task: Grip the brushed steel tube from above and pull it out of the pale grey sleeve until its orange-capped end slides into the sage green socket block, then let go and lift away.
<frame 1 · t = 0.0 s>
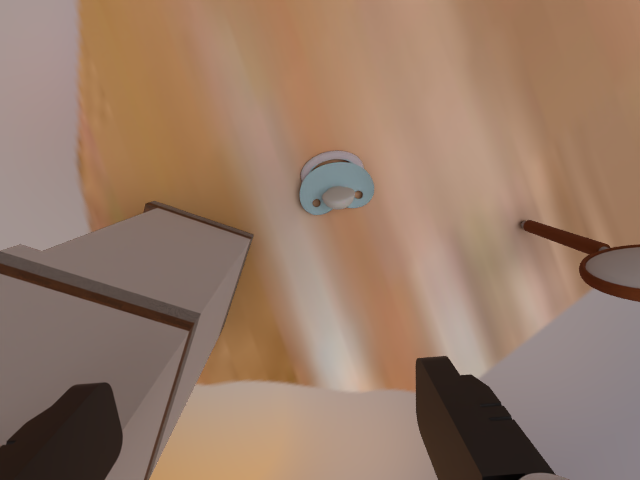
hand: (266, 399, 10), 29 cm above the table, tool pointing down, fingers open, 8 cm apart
grey notched tower: (190, 266, 39), on the table
pacifier: (333, 180, 38), on the table
magnifying glass: (522, 223, 39), on the table
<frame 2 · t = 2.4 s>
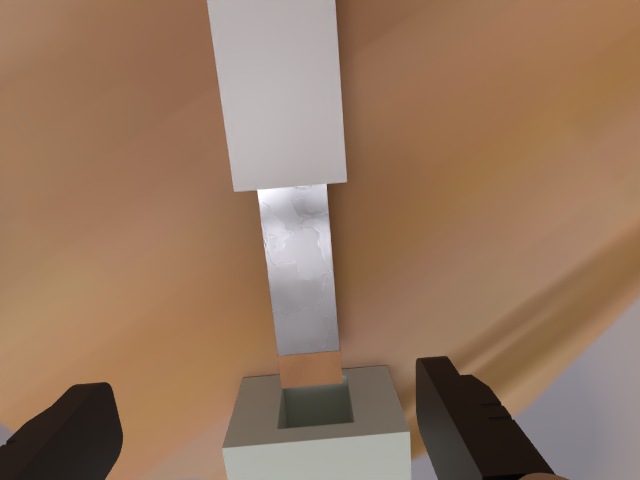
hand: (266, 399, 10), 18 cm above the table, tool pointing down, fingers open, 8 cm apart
grey sleeve: (284, 61, 24), on the table
socket block: (317, 399, 31), on the table
steel tube: (293, 186, 23), point 3 cm above the table, slide at 0.0 cm
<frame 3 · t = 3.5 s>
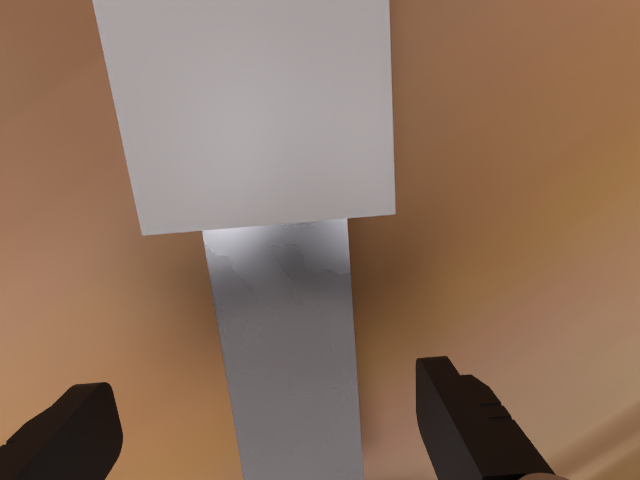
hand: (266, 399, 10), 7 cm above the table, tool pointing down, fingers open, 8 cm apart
steel tube: (281, 214, 12), point 4 cm above the table, slide at 0.0 cm
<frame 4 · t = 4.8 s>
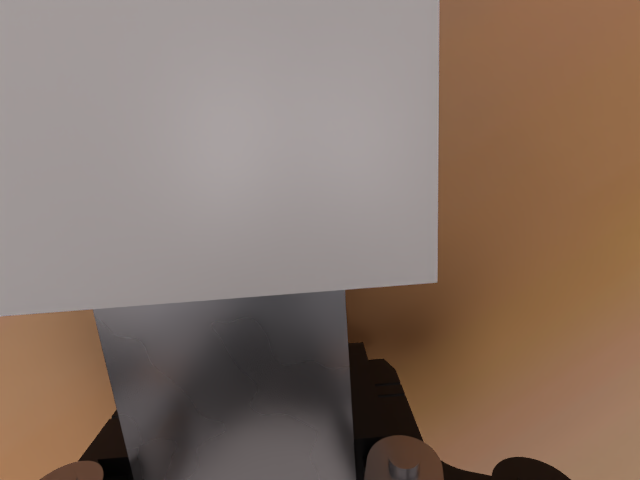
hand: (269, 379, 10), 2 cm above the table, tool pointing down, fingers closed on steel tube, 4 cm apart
steel tube: (241, 255, 8), point 3 cm above the table, slide at 0.0 cm, touching gripper
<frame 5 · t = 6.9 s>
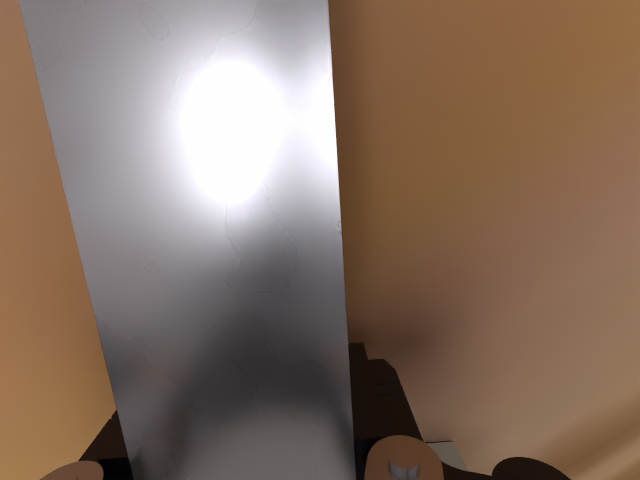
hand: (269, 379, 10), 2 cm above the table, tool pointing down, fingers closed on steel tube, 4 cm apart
steel tube: (241, 255, 8), point 4 cm above the table, slide at 7.2 cm, touching gripper
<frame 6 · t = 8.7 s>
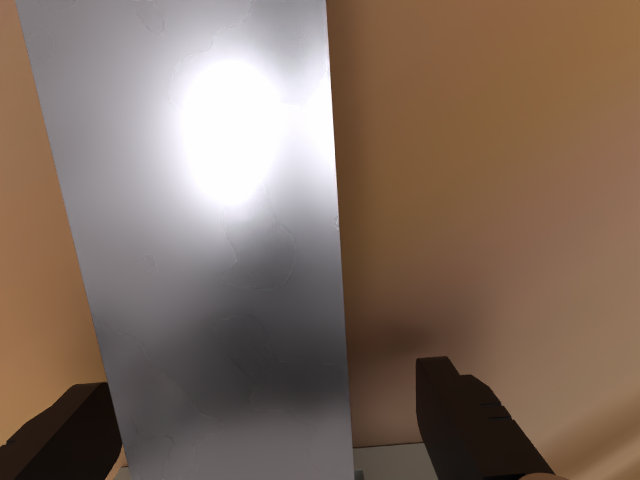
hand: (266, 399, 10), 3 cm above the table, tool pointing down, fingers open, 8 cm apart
steel tube: (239, 252, 8), point 3 cm above the table, slide at 7.1 cm
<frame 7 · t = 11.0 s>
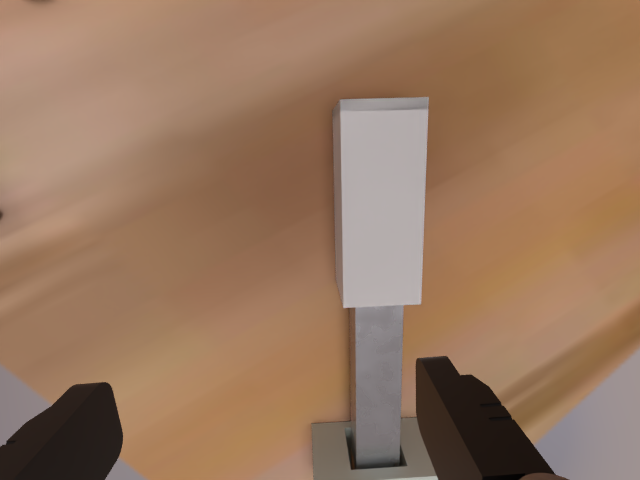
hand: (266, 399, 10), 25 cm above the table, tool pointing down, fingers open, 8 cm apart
grey sleeve: (367, 198, 33), on the table
socket block: (367, 441, 39), on the table
steel tube: (374, 367, 33), point 4 cm above the table, slide at 7.1 cm
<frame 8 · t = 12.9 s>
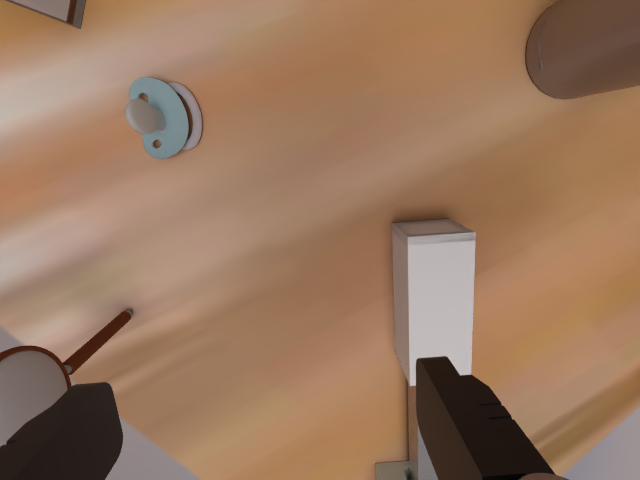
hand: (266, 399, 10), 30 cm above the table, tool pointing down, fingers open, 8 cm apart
grey sleeve: (420, 287, 41), on the table
socket block: (421, 476, 48), on the table
steel tube: (430, 423, 41), point 3 cm above the table, slide at 7.1 cm
pacifier: (173, 119, 37), on the table
magnifying glass: (130, 311, 41), on the table
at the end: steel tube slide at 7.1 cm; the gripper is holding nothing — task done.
